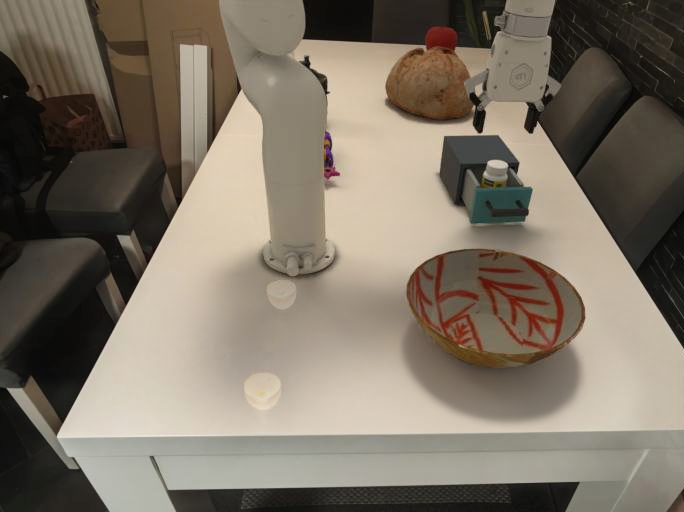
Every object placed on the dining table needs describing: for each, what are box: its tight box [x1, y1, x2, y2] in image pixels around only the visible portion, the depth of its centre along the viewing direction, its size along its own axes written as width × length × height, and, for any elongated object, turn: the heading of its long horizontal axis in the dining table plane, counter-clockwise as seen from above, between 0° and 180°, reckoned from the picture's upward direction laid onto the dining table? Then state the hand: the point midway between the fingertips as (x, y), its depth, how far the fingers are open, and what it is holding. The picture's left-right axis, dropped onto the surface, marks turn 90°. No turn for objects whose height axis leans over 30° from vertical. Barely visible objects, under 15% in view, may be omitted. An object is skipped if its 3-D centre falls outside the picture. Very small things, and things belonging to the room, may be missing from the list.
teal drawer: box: [460, 167, 534, 225], centre depth 108 cm, size 18×11×7 cm, turn 8°
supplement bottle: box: [481, 160, 508, 188], centre depth 108 cm, size 5×5×8 cm
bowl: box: [406, 248, 586, 369], centre depth 80 cm, size 25×25×8 cm
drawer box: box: [439, 134, 521, 205], centre depth 117 cm, size 14×12×9 cm
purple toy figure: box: [324, 130, 341, 180], centre depth 122 cm, size 14×25×12 cm, turn 5°
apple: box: [424, 26, 459, 52], centre depth 188 cm, size 11×11×12 cm
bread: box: [384, 46, 475, 121], centre depth 153 cm, size 26×23×15 cm
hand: (503, 130), depth 100 cm, fingers open, 9 cm apart
